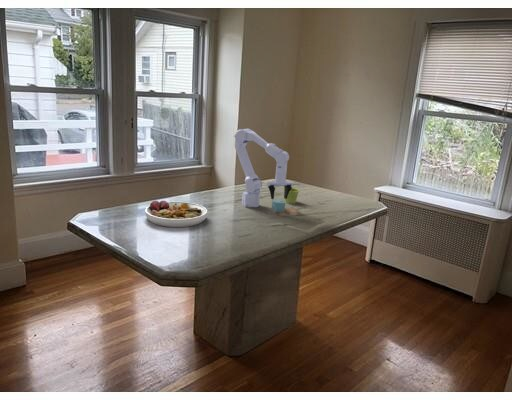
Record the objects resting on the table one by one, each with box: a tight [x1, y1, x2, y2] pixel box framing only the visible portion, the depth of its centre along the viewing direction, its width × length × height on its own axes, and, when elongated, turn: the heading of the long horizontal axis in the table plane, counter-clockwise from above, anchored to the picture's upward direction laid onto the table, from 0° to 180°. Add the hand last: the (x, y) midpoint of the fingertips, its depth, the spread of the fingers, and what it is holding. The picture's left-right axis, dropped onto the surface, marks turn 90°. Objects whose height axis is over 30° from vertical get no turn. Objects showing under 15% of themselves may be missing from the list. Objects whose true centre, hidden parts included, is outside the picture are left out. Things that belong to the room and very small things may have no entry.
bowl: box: [144, 200, 208, 228], centre depth 209 cm, size 30×30×8 cm
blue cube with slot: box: [271, 199, 286, 212], centre depth 231 cm, size 5×5×5 cm
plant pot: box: [282, 187, 300, 205], centre depth 250 cm, size 9×9×9 cm
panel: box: [268, 206, 303, 216], centre depth 231 cm, size 15×13×1 cm
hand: (278, 198), depth 230 cm, fingers open, 7 cm apart
